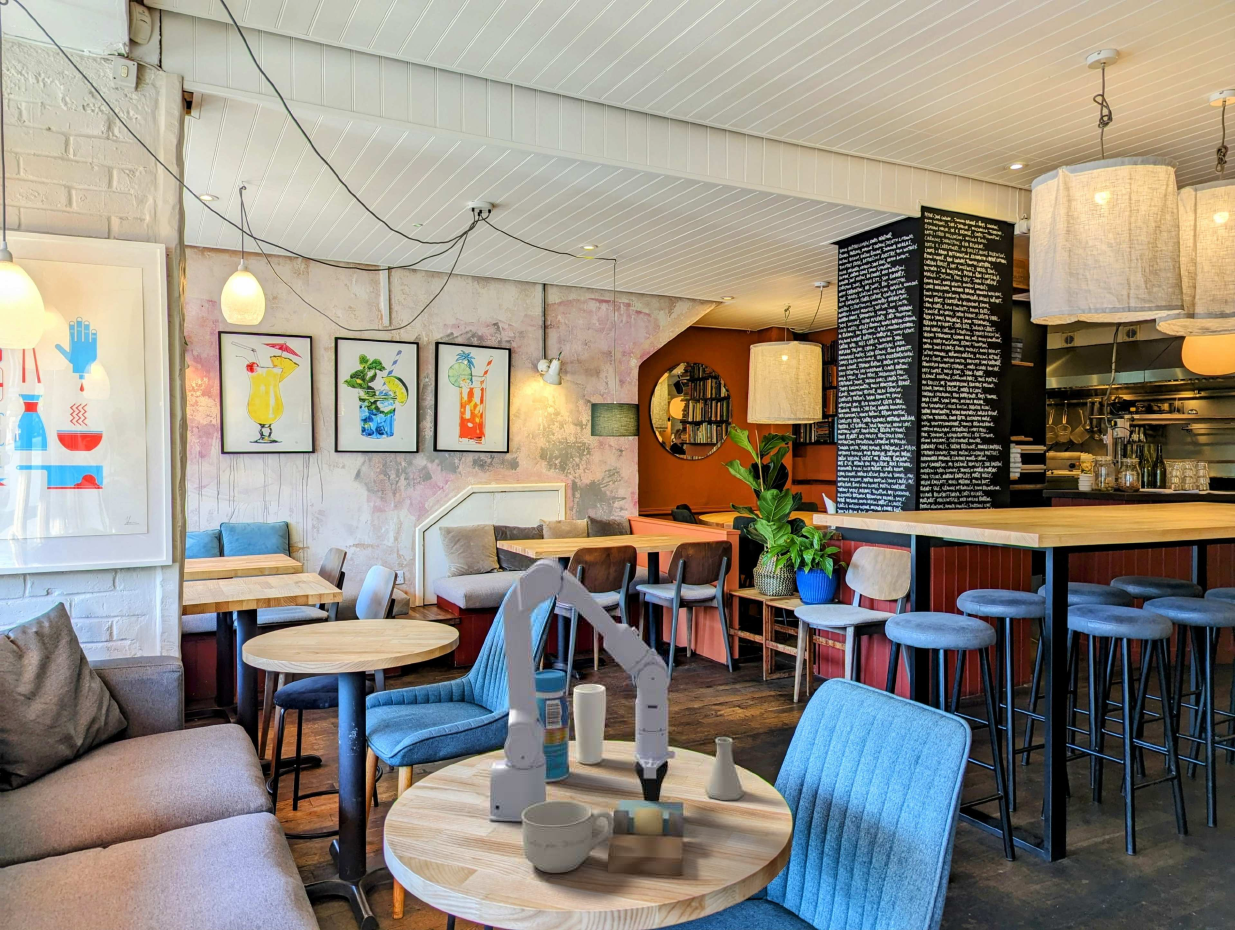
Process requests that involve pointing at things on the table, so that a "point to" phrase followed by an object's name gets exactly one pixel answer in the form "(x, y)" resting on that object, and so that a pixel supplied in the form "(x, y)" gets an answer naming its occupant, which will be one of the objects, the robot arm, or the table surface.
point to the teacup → (561, 834)
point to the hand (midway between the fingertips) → (651, 805)
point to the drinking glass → (589, 721)
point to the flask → (724, 774)
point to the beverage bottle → (554, 722)
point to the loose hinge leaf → (649, 816)
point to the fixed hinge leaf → (646, 848)
